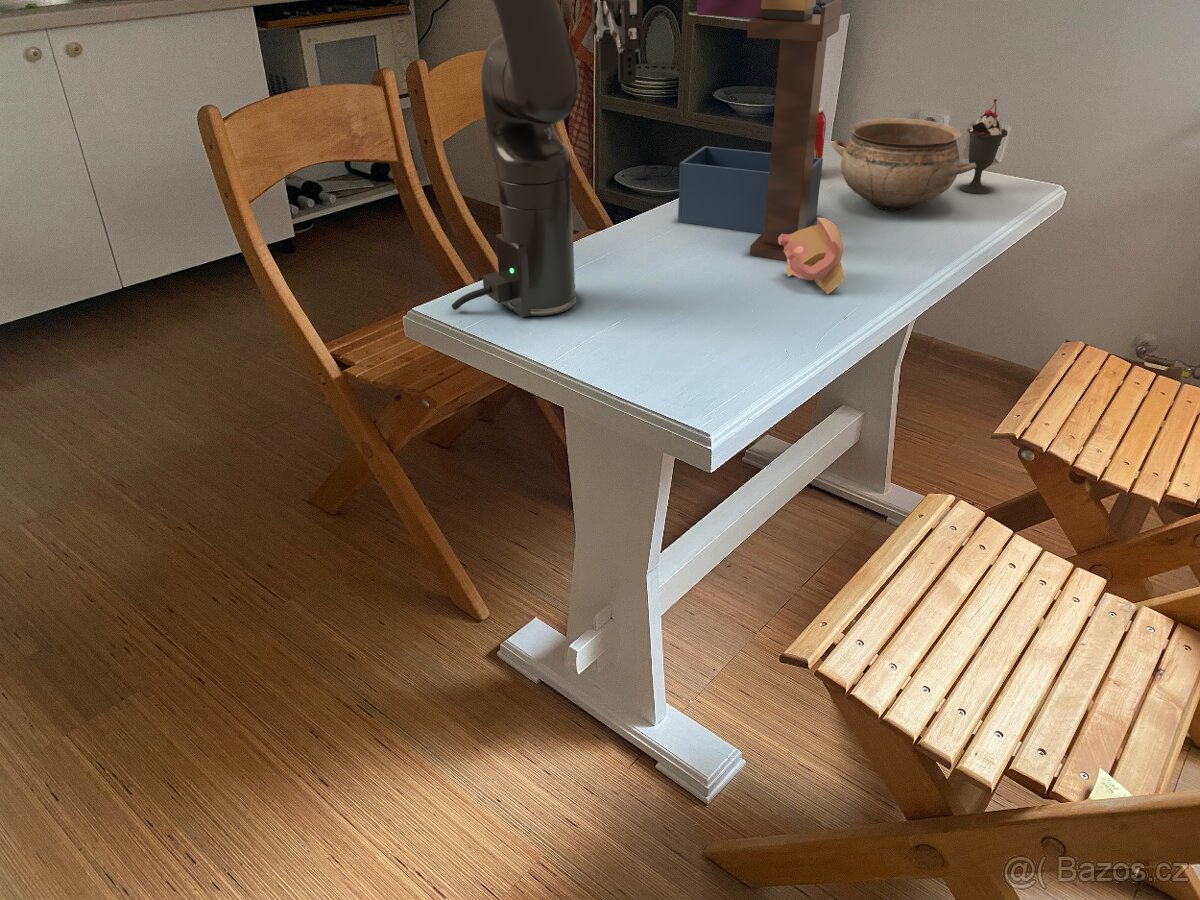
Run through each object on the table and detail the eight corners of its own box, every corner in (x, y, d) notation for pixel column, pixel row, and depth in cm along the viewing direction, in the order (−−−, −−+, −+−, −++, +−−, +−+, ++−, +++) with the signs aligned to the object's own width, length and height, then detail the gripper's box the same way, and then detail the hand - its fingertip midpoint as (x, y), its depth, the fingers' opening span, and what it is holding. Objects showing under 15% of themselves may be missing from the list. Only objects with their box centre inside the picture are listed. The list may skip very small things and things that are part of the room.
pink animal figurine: (791, 267, 131) (845, 224, 126) (821, 319, 127) (878, 278, 122) (759, 248, 124) (815, 202, 120) (789, 303, 120) (848, 258, 115)
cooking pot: (800, 204, 154) (808, 131, 147) (852, 178, 166) (861, 109, 159) (940, 234, 140) (956, 155, 133) (986, 204, 152) (1002, 130, 145)
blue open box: (677, 221, 147) (679, 163, 142) (701, 202, 156) (704, 146, 150) (797, 238, 140) (804, 177, 134) (816, 217, 148) (823, 158, 143)
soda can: (820, 181, 165) (828, 113, 158) (781, 179, 166) (787, 112, 159) (820, 170, 171) (827, 104, 164) (782, 169, 172) (788, 103, 165)
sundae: (985, 183, 162) (1004, 96, 154) (1000, 194, 156) (1021, 104, 148) (949, 184, 162) (966, 97, 154) (963, 195, 156) (981, 105, 148)
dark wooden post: (732, 254, 135) (749, 4, 116) (751, 235, 141) (769, -4, 123) (800, 264, 131) (829, 7, 112) (816, 244, 137) (846, -2, 119)
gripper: (571, -63, 117) (576, 70, 126) (603, -55, 105) (606, 90, 114) (625, -65, 118) (626, 65, 127) (663, -59, 107) (661, 84, 116)
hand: (617, 77), depth 121 cm, fingers open, 8 cm apart
